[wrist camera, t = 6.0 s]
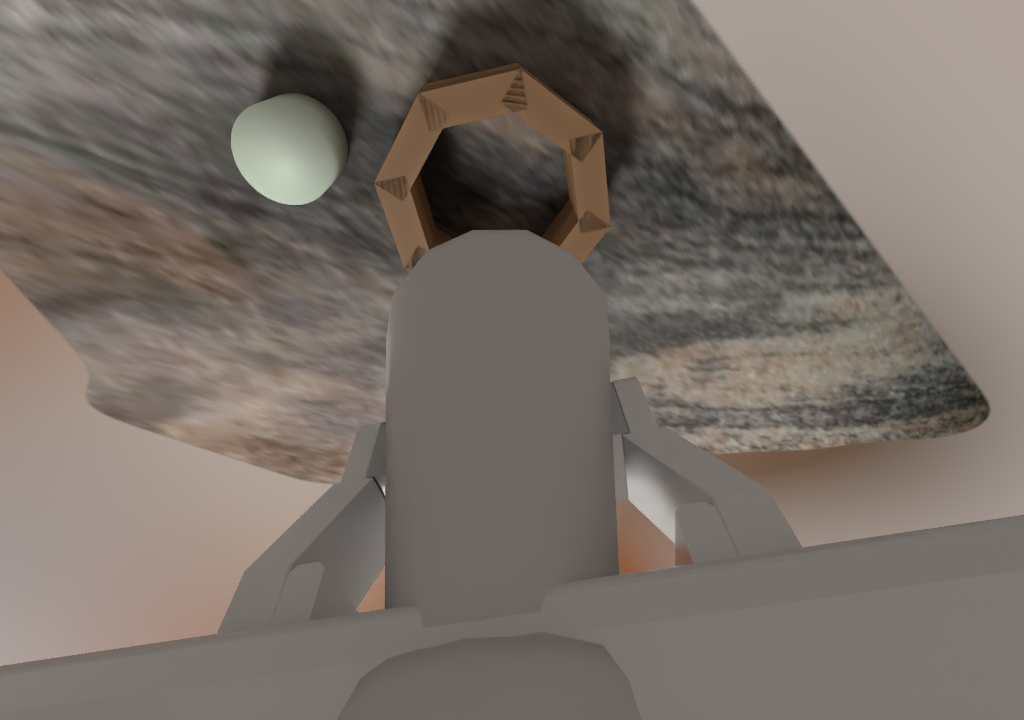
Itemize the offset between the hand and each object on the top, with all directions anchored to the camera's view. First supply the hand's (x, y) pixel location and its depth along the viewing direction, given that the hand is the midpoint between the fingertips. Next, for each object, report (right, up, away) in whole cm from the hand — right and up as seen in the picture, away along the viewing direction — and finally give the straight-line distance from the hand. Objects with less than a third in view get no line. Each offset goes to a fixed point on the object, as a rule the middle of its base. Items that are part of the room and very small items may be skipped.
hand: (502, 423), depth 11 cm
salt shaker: (0, +3, +4) cm, 5 cm away
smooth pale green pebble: (-10, +12, +14) cm, 21 cm away
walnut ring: (-1, +11, +15) cm, 19 cm away
